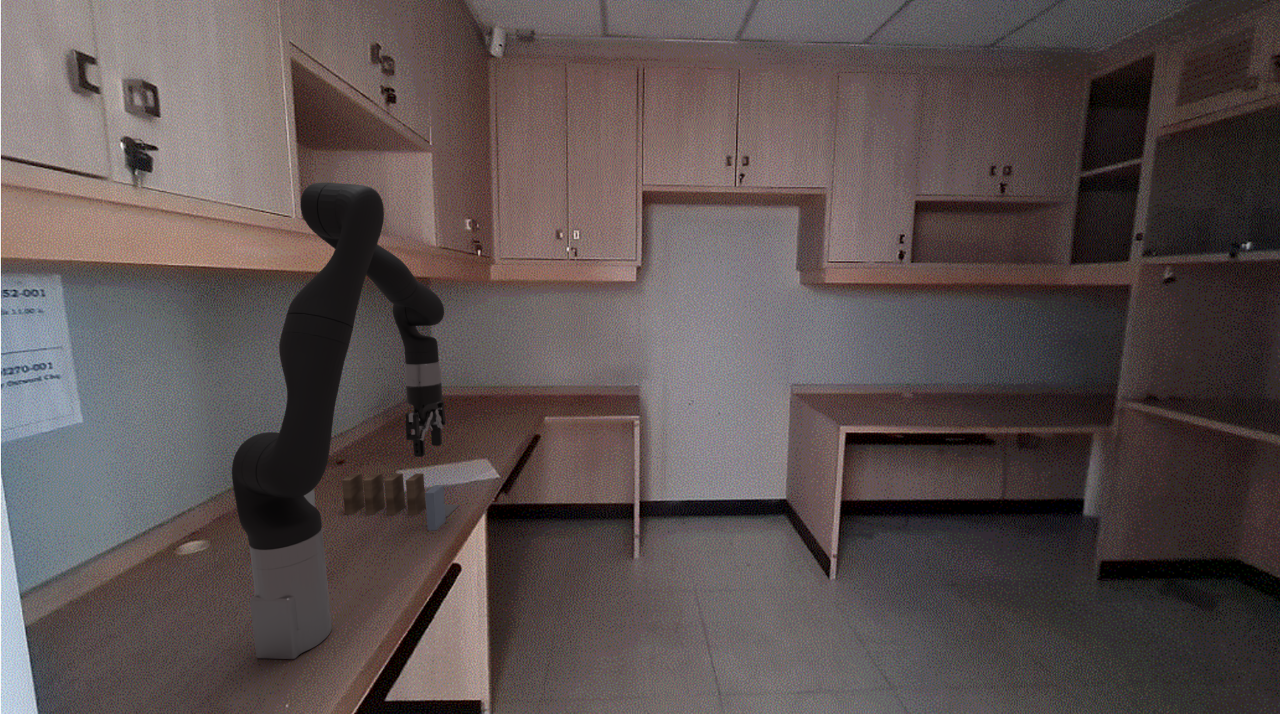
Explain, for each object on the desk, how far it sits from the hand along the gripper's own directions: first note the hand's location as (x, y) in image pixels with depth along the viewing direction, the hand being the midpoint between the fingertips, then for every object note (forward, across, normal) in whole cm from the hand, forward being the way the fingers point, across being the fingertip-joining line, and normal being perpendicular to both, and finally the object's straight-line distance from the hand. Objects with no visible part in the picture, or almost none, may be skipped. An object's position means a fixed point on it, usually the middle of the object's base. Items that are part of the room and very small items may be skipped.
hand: (428, 450), depth 117 cm
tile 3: (+18, +8, +14) cm, 24 cm away
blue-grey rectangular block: (+18, 0, -1) cm, 18 cm away
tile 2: (+18, +8, +8) cm, 22 cm away
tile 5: (+18, +8, +25) cm, 32 cm away
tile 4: (+18, +8, +19) cm, 28 cm away
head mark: (+18, +8, +1) cm, 20 cm away
